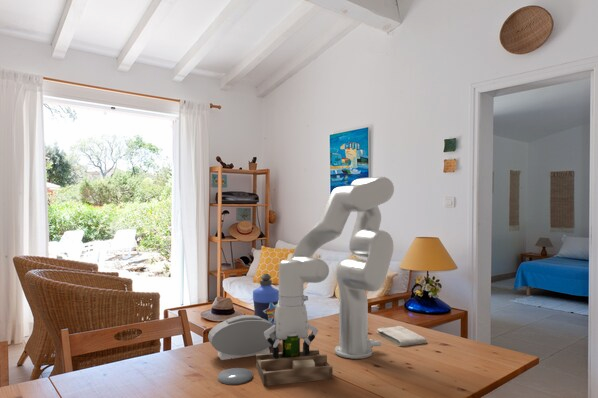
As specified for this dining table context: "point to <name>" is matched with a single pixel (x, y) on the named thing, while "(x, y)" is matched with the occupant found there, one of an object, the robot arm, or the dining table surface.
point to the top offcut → (303, 364)
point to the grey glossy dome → (235, 376)
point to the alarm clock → (241, 337)
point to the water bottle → (265, 299)
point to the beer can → (291, 346)
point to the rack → (283, 369)
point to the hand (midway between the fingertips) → (291, 357)
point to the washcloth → (400, 336)
